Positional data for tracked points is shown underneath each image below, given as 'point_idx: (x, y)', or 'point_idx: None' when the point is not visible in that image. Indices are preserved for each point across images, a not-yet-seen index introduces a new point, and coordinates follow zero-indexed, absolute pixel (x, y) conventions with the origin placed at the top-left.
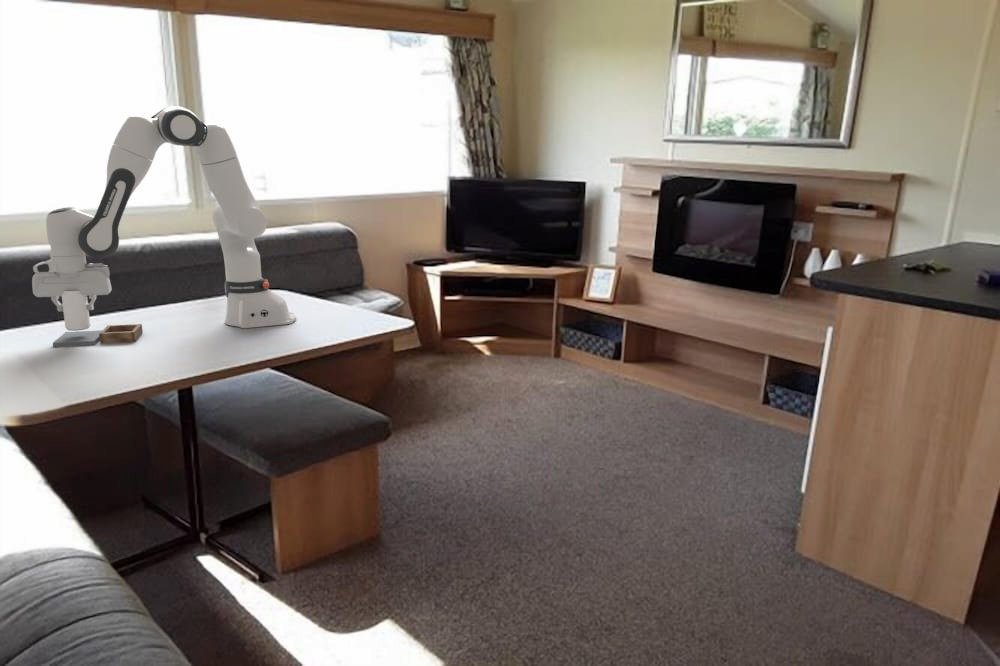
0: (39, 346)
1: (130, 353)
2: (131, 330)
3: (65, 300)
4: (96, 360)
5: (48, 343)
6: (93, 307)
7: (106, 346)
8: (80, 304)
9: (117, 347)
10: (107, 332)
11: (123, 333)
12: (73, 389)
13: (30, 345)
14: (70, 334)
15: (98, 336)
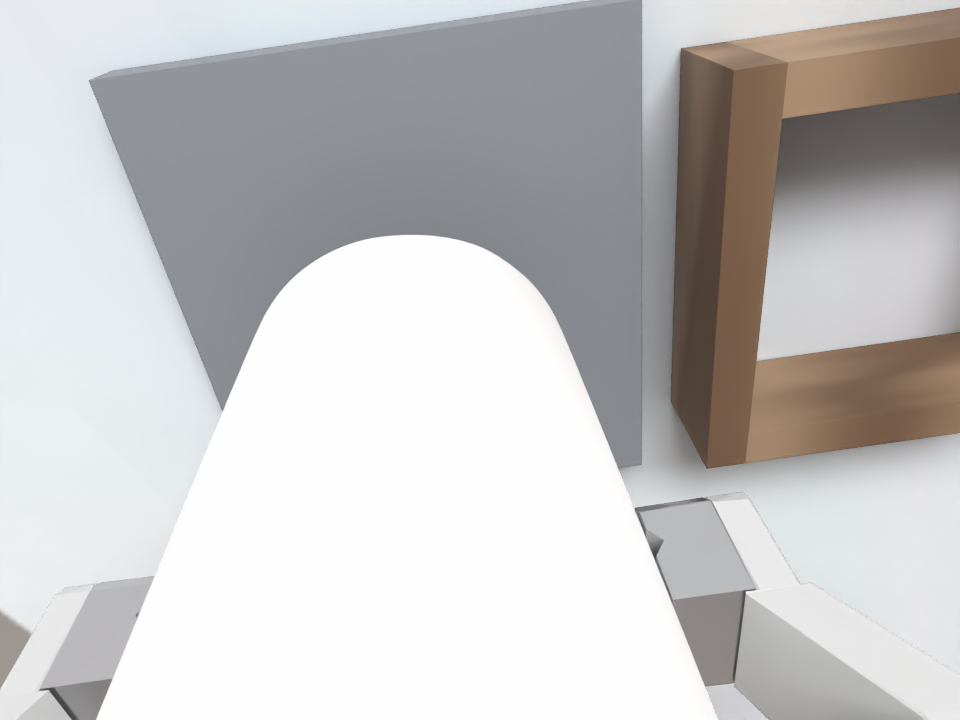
0: (127, 473)
1: (939, 615)
2: None
3: None
4: (738, 717)
5: (139, 387)
6: (751, 519)
7: (744, 477)
8: None
9: (839, 501)
10: (789, 428)
11: (953, 427)
12: None
13: (6, 445)
14: (249, 221)
15: (638, 320)
